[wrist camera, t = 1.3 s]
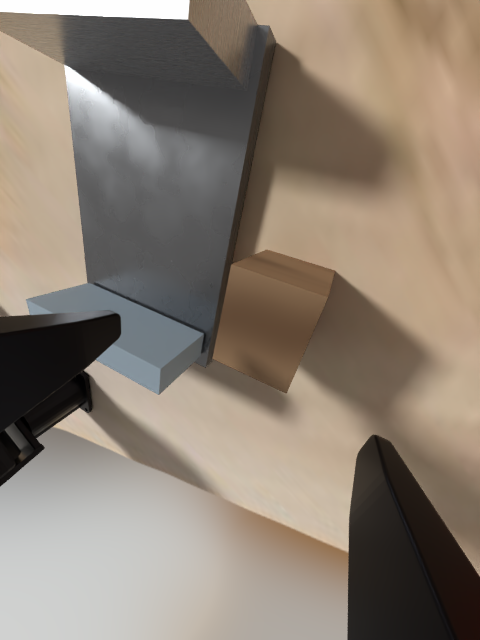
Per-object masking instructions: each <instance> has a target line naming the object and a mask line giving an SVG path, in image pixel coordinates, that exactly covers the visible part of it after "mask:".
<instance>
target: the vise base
mask: <svg viewBox="0 0 480 640" xmlns="http://www.w3.org/2000/svg"><path fill="white" fill-rule="evenodd" d="M0 31H1V32H3V33H5V34H7V35H9V36H11V37H13V38H15V39H16V40H18V41H20V42H22V43H24V44H26V45H28V46H30V47H32V48H33V49H35V50H37V51H39V52H41V53H43V54H45V55H47V56H49V57H51V58H52V59H54V60H56V61H58V62H60V63H62V64H64V65H65V74H66V83H67V92H68V102H69V111H70V121H71V130H72V140H73V149H74V158H75V168H76V177H77V187H78V196H79V206H80V215H81V225H82V234H83V243H84V253H85V262H86V272H87V281H88V283H91V284H93V285H95V286H98V287H100V288H102V289H104V290H107V291H109V292H111V293H113V294H116V295H118V296H120V297H122V298H125V299H127V300H129V301H131V302H134V303H136V304H138V305H140V306H143V307H145V308H147V309H149V310H152V311H154V312H156V313H158V314H161V315H163V316H165V317H167V318H170V319H172V320H174V321H176V322H179V323H181V324H183V325H185V326H188V327H190V328H192V329H194V330H197V331H199V332H201V333H203V334H204V337H203V343H202V349H201V355H200V357H199V358H198V359H197V360H196V361H195V363H197V364H199V365H201V366H203V367H205V368H206V367H207V366H208V365H209V364H210V363H211V361H212V358H213V353H214V348H215V343H216V338H217V333H218V328H219V323H220V318H221V313H222V308H223V303H224V298H225V293H226V288H227V283H228V278H229V273H230V268H231V264H232V259H233V254H234V249H235V244H236V239H237V234H238V229H239V224H240V219H241V214H242V209H243V204H244V199H245V194H246V189H247V184H248V179H249V174H250V169H251V164H252V159H253V154H254V149H255V144H256V139H257V134H258V129H259V124H260V119H261V114H262V109H263V104H264V99H265V94H266V89H267V84H268V79H269V74H270V69H271V64H272V59H273V54H274V49H275V44H276V40H275V38H274V35H273V33H272V31H271V28H270V26H265V25H258V24H257V22H256V20H255V18H254V16H253V14H252V12H251V10H250V8H249V6H248V4H247V2H246V0H0Z"/></svg>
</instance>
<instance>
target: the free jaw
mask: <svg viewBox="0 0 480 640" xmlns="http://www.w3.org/2000/svg"><path fill="white" fill-rule="evenodd" d="M26 301H27V305H28V309H29V313H30V315H39V314H55V313H71V312H86V311H102V310H111V311H113V312H116V313H118V314H119V315H120V317H121V336H120V338H119V339H118V340H117V341H116V342H115V343H113V344H112V345H111V346H110V347H109V348H108V349H107V350H106V351H105V352H103V353H102V354H101V355H100V356H99V357H98V358H97V359H96V360H97V361H99V362H100V363H102V364H104V365H106V366H108V367H109V368H111V369H113V370H115V371H117V372H118V373H120V374H122V375H124V376H126V377H127V378H129V379H131V380H133V381H135V382H136V383H138V384H140V385H142V386H144V387H145V388H147V389H149V390H151V391H153V392H154V393H156V394H158V395H159V394H160V393H161V392H163V391H164V390H165V389H166V388H167V387H168V386H169V385H170V384H171V383H172V382H173V381H174V380H175V379H176V378H177V377H179V376H180V375H181V374H182V373H183V372H184V371H185V370H186V369H187V368H188V367H189V366H190V365H191V364H192V363H193V362H195V361H196V360H197V359H198V358H199V357H200V355H201V349H202V343H203V337H204V334H203V333H201V332H199V331H197V330H194V329H192V328H190V327H188V326H185V325H183V324H181V323H179V322H176V321H174V320H172V319H170V318H167V317H165V316H163V315H161V314H158V313H156V312H154V311H152V310H149V309H147V308H145V307H143V306H140V305H138V304H136V303H134V302H131V301H129V300H127V299H125V298H122V297H120V296H118V295H116V294H113V293H111V292H109V291H107V290H104V289H102V288H100V287H98V286H95V285H93V284H91V283H87V284H83V285H80V286H76V287H72V288H68V289H64V290H60V291H56V292H52V293H48V294H45V295H41V296H37V297H33V298H29V299H26Z"/></svg>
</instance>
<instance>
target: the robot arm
mask: <svg viewBox="0 0 480 640" xmlns="http://www.w3.org/2000/svg"><path fill="white" fill-rule="evenodd" d="M120 336H121V317H120V315H119V314H118V313H116V312H113V311H111V310H102V311H86V312H71V313H55V314H39V315H24V316H8V317H0V486H1V485H3V484H4V483H5V482H6V481H7V480H9V479H10V478H11V477H12V476H13V475H14V474H16V473H17V472H18V471H19V470H20V469H21V468H22V467H24V466H25V465H26V464H27V463H28V462H29V461H30V460H32V459H33V458H34V457H35V456H36V455H38V454H39V453H40V452H41V451H42V450H43V449H44V446H43V445H42V444H40V443H39V442H38V440H37V439H36V438H37V437H39V436H40V435H42V434H43V433H44V432H46V431H47V430H49V429H50V428H51V427H53V426H54V425H56V424H57V423H58V422H60V421H61V420H63V419H64V418H66V417H67V416H68V415H70V414H71V413H73V412H74V411H75V410H77V409H78V408H81V409H82V410H84V411H85V412H87V413H89V412H91V411H92V404H91V397H90V389H89V382H88V376H87V375H86V373H84V372H83V370H84V369H85V368H87V367H88V366H89V365H90V364H91V363H92V362H94V361H95V360H96V359H97V358H98V357H99V356H100V355H101V354H102V353H103V352H105V351H106V350H107V349H108V348H109V347H110V346H111V345H112V344H113V343H115V342H116V341H117V340H118V339H119V338H120ZM348 574H349V575H348V640H480V576H479V575H478V573H477V572H476V570H475V569H474V567H473V566H472V564H471V563H470V561H469V560H468V558H467V557H466V555H465V554H464V552H463V551H462V549H461V547H460V546H459V544H458V543H457V541H456V540H455V538H454V537H453V535H452V534H451V532H450V531H449V529H448V528H447V526H446V525H445V523H444V522H443V520H442V519H441V517H440V516H439V514H438V513H437V511H436V510H435V508H434V507H433V505H432V504H431V502H430V501H429V499H428V498H427V496H426V495H425V493H424V492H423V490H422V489H421V487H420V485H419V484H418V482H417V481H416V479H415V478H414V476H413V475H412V473H411V472H410V470H409V469H408V467H407V466H406V464H405V463H404V461H403V460H402V458H401V457H400V455H399V454H398V452H397V451H396V449H395V448H394V446H393V445H392V443H391V442H390V441H388V440H386V439H384V438H382V437H380V436H378V435H372V436H371V437H370V438H369V439H368V440H367V442H366V443H365V444H364V446H363V447H362V448H361V449H360V451H359V453H358V455H357V459H356V467H355V475H354V483H353V491H352V498H351V506H350V516H349V572H348Z"/></svg>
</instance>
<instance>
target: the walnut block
mask: <svg viewBox="0 0 480 640" xmlns="http://www.w3.org/2000/svg"><path fill="white" fill-rule="evenodd" d="M334 273H335V271H334V270H331V269H328V268H324V267H321V266H318V265H315V264H312V263H308V262H305V261H302V260H299V259H295V258H292V257H289V256H286V255H283V254H279V253H276V252H273V251H270V250H265V251H262V252H260V253H257V254H255V255H253V256H250V257H248V258H245V259H243V260H240V261H238V262H236V263H233V264H231V268H230V273H229V278H228V283H227V288H226V293H225V298H224V303H223V308H222V313H221V318H220V323H219V328H218V333H217V338H216V343H215V348H214V353H213V358H212V359H214V360H216V361H218V362H220V363H222V364H224V365H227V366H229V367H231V368H233V369H235V370H237V371H239V372H242V373H244V374H246V375H248V376H250V377H252V378H254V379H256V380H259V381H261V382H263V383H265V384H267V385H269V386H271V387H273V388H276V389H278V390H280V391H282V392H284V393H287V391H288V389H289V387H290V384H291V382H292V380H293V377H294V375H295V373H296V370H297V368H298V366H299V363H300V361H301V359H302V357H303V354H304V352H305V350H306V347H307V345H308V343H309V340H310V338H311V336H312V334H313V331H314V329H315V327H316V324H317V322H318V320H319V317H320V315H321V313H322V310H323V308H324V306H325V304H326V301H327V299H328V296H329V292H330V288H331V285H332V281H333V277H334Z"/></svg>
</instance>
